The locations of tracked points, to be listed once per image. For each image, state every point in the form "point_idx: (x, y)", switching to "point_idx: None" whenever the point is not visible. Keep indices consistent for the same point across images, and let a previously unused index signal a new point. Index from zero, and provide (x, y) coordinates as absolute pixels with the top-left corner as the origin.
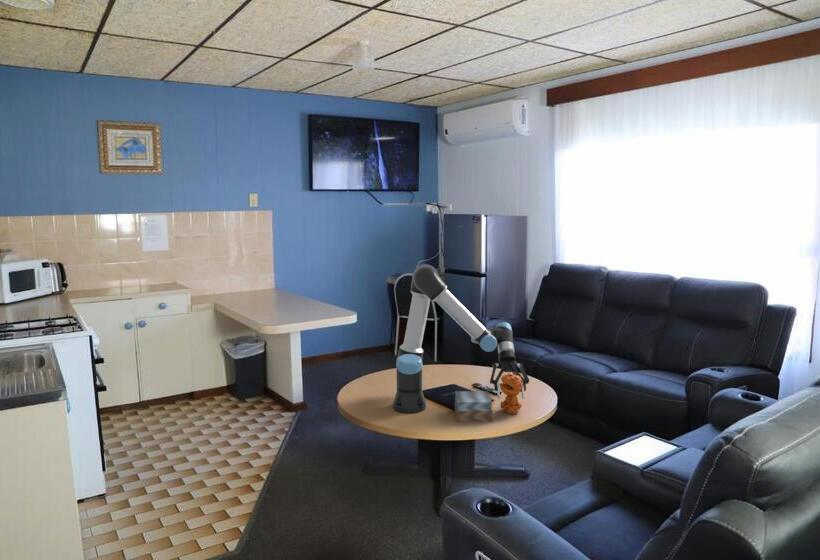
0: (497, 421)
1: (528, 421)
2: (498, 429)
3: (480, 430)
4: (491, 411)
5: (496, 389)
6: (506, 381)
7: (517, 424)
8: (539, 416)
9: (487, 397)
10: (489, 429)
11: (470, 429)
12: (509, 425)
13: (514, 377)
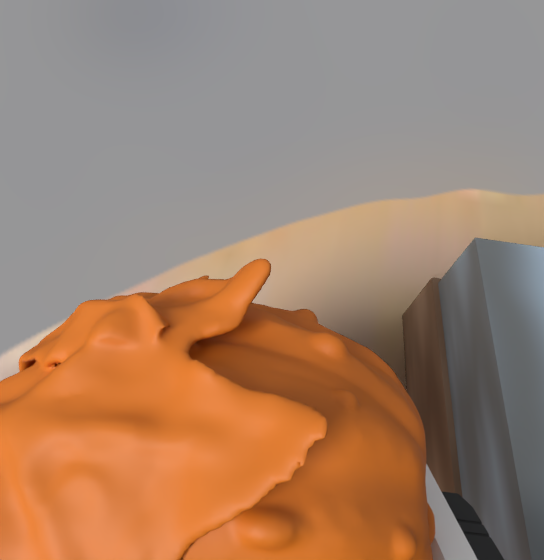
0: (365, 316)
1: (148, 287)
2: (375, 207)
3: (476, 210)
4: (439, 280)
5: (443, 494)
6: (341, 336)
7: (243, 253)
8: (7, 368)
9: (525, 369)
10: (426, 214)
11: (532, 229)
12: (299, 246)
13: (163, 311)
